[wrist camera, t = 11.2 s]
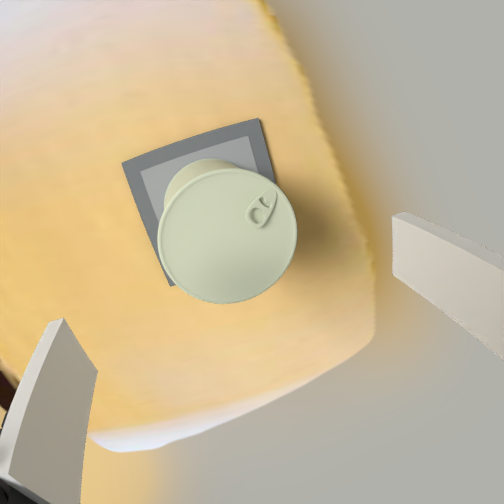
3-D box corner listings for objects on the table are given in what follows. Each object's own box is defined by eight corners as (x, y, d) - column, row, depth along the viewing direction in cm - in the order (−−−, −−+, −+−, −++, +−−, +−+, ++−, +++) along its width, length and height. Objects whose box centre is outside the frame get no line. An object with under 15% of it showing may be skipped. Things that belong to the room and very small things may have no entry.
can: (273, 197, 30) (327, 230, 20) (216, 264, 31) (239, 330, 21) (204, 139, 27) (223, 135, 16) (145, 213, 28) (127, 258, 17)
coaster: (122, 162, 26) (121, 163, 25) (256, 118, 28) (258, 117, 27) (170, 284, 32) (170, 287, 31) (288, 241, 33) (290, 243, 33)
